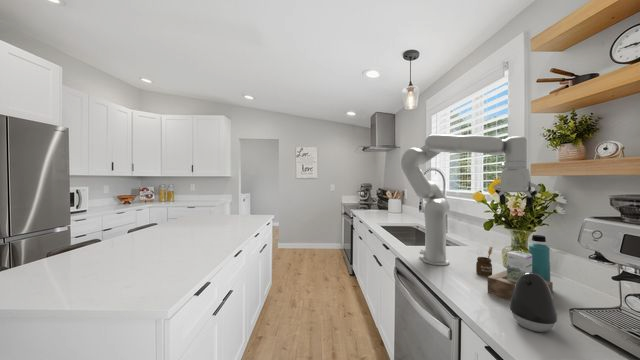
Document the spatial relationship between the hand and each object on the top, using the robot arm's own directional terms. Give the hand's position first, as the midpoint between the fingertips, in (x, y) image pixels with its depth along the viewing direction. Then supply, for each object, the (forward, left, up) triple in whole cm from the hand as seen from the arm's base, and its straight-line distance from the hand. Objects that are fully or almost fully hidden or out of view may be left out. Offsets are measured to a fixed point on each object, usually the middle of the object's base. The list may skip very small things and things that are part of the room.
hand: (515, 205), depth 111 cm
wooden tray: (+10, -21, -30) cm, 38 cm away
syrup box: (+10, -21, -30) cm, 38 cm away
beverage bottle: (+10, -5, -31) cm, 32 cm away
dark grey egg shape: (+21, -40, -31) cm, 55 cm away
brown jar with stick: (-8, -9, -31) cm, 33 cm away
